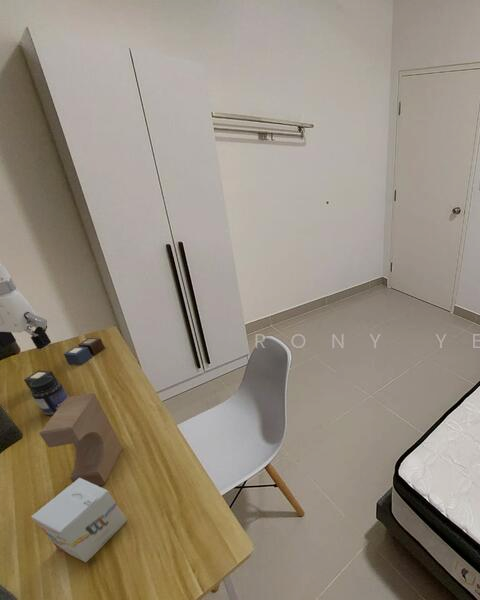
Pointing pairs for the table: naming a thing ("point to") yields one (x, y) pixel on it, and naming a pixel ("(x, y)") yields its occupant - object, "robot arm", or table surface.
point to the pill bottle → (48, 394)
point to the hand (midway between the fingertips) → (26, 345)
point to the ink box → (80, 519)
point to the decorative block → (85, 437)
